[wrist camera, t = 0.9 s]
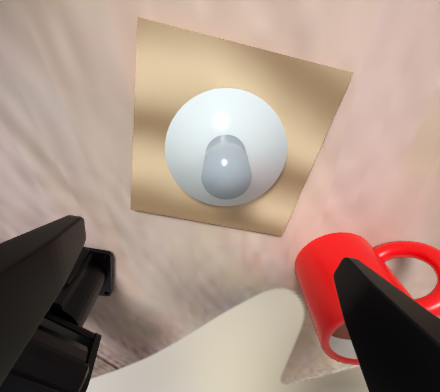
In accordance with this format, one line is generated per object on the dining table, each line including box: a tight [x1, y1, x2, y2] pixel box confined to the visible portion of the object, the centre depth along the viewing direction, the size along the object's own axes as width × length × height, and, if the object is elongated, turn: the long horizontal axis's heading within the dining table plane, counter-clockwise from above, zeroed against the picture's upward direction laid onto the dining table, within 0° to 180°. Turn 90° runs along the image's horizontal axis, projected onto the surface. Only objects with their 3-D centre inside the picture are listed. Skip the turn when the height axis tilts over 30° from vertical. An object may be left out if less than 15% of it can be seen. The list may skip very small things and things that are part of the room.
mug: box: [295, 232, 440, 365], centre depth 21 cm, size 8×12×8 cm, turn 126°
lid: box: [165, 87, 287, 206], centre depth 16 cm, size 9×9×5 cm
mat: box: [131, 18, 353, 236], centre depth 19 cm, size 14×14×1 cm
